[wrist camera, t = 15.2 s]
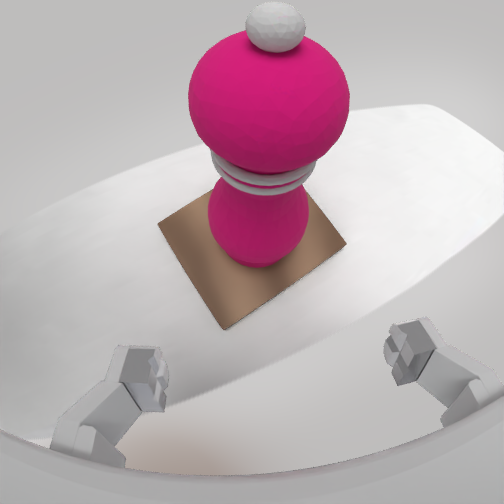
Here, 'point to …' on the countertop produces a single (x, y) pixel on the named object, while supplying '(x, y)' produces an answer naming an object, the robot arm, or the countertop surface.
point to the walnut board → (234, 274)
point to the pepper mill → (266, 130)
